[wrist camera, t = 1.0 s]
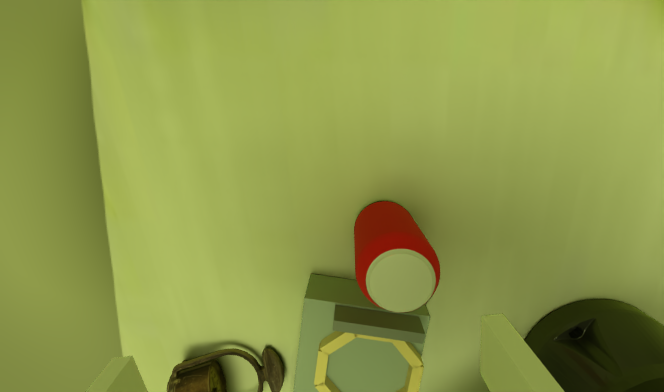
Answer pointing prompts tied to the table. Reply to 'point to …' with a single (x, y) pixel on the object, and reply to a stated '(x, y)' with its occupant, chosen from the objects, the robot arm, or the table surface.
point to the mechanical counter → (208, 379)
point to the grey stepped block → (357, 342)
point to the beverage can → (393, 259)
